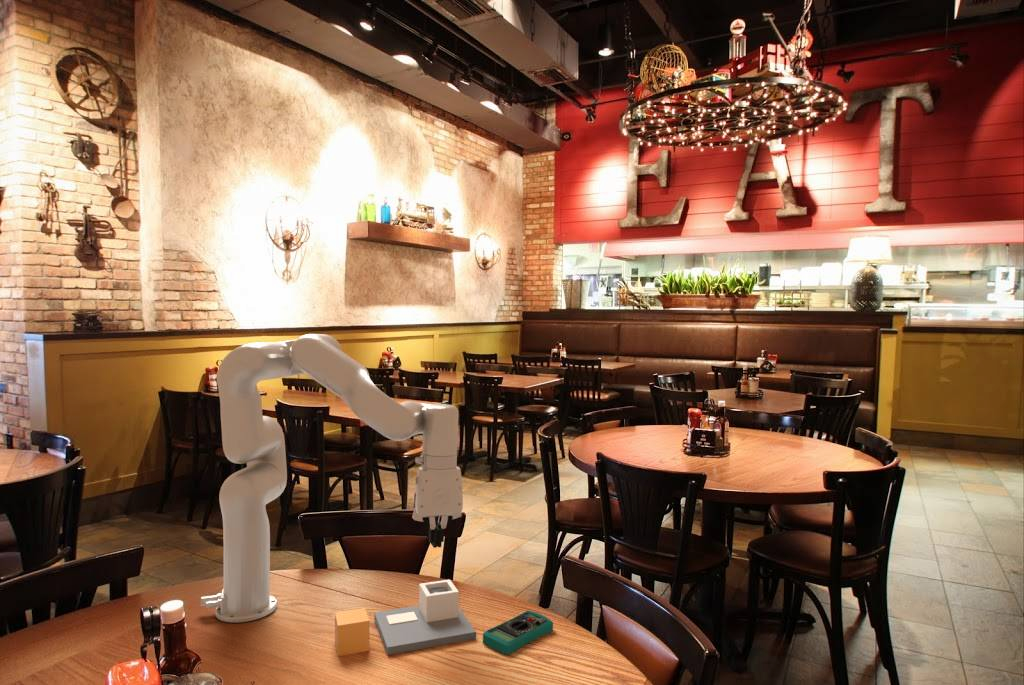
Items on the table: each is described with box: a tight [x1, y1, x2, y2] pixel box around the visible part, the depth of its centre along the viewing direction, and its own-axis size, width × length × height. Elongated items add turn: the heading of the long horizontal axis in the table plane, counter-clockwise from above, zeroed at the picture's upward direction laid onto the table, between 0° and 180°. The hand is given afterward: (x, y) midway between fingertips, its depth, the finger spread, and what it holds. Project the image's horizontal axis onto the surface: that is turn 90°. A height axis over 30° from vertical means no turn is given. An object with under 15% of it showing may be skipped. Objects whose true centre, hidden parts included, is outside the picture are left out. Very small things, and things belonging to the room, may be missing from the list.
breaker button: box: [429, 588, 449, 594], centre depth 134 cm, size 4×4×4 cm
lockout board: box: [373, 579, 477, 656], centre depth 130 cm, size 18×16×7 cm
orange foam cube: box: [334, 607, 370, 657], centre depth 122 cm, size 6×6×6 cm
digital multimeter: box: [482, 610, 554, 656], centre depth 127 cm, size 7×15×3 cm, turn 137°
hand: (435, 545), depth 134 cm, fingers closed
